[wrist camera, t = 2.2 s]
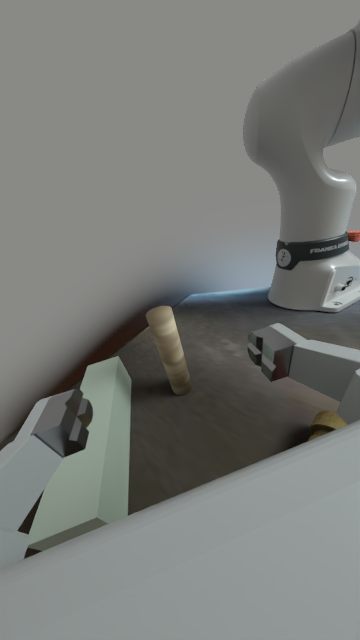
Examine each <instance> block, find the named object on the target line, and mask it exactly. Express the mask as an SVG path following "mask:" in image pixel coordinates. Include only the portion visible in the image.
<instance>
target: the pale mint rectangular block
mask: <svg viewBox="0 0 360 640" xmlns="http://www.w3.org/2000/svg"><path fill="white" fill-rule="evenodd" d="M80 390H81V391H82V392H83V393H84V394H83V398H85V399H88V400H89V401H90V403H91V405H92V407H93V418H92V422H91V423H90V424H89V426H88V427H87V429H88V431H89V435H88V439H87V444H86V448H85V450H82V451H79V452H77V453H74V454H72V455H69V456H67V457H64V458H63V461H62V462H61V464H60V465H59V467H58V468H57V470H56V472H55V473H54V475H53V476H52V478H51V479H50V481H49V482H48V484H47V485H46V487H45V490H44V492H43V495H42V498H41V501H40V504H39V507H38V509H37V512H36V515H35V518H34V521H33V524H32V527H31V529H30V532H29V537H30V541H29V544H28V547H27V548H32V549H36V550H40V551H44V550H47V549H49V548H52V547H54V546H56V545H59V544H61V543H64V542H66V541H69V540H71V539H73V538H76V537H78V536H81V535H83V534H85V533H88V532H90V531H93V530H95V529H97V528H100V527H102V526H105V525H107V524H110V523H112V522H114V521H117V520H119V519H122V518H124V517H126V516H128V484H129V447H130V409H131V379H130V377H129V375H128V373H127V371H126V369H125V367H124V366H123V364H122V362H121V360H120V358H119V356H117V357H114V358H111V359H108V360H105V361H101V362H98V363H95V364H92V365H89V366H88V367H87V370H86V373H85V376H84V378H83V381H82V384H81V387H80Z"/></svg>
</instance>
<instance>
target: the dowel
mask: <svg viewBox="0 0 360 640" xmlns="http://www.w3.org/2000/svg"><path fill="white" fill-rule="evenodd" d="M146 318H147V321H148V324H149V326H150V329H151V332H152V335H153V337H154V340H155V343H156V346H157V348H158V351H159V354H160V357H161V359H162V362H163V365H164V368H165V370H166V373H167V376H168V379H169V381H170V384H171V387H172V390H173V392H174V393H175V394H176V395H179V396H182V395H186V394H187V393H189V391H190V390H191V388H192V384H191V380H190V376H189V373H188V369H187V365H186V361H185V357H184V354H183V350H182V346H181V342H180V339H179V335H178V331H177V327H176V323H175V320H174V316H173V312H172V308H171V307H169V306H159V307H156V308H153V309H151V310H150V311H148V312H147V314H146Z"/></svg>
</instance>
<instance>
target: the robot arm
mask: <svg viewBox="0 0 360 640" xmlns="http://www.w3.org/2000/svg"><path fill="white" fill-rule="evenodd" d="M359 136H360V21H359V23H358V24H357V25H356V26H355V27H354V28H353V29H351V30H349V32H347V33H346V34H344V35H341V36H339V37H337V38H335V39H333V40H331V41H329V42H327V43H325V44H323V45H321V46H319V47H317V48H315V49H313V50H311V51H309V52H306V53H305V54H302V55H300V56H298V57H296V58H294V59H292V60H291V61H289V62H287V63H286V64H285V65H283V66H282V67H281V68H279V69H278V70H277V71H275V72H274V73H273V74H271V75H270V76H269V77H267V78H266V79H265V80H264V81H262V82H261V83H260V84H259V85H258V86H257V87H256V89H255V91H254V93H253V95H252V97H251V100H250V102H249V104H248V107H247V111H246V114H245V119H244V126H243V140H244V146H245V149H246V152H247V154H248V156H249V157H250V159H251V160H252V161H253V162H254V163H256V164H258V165H259V166H261V167H262V168H264V169H265V170H266V171H267V172H268V173H269V174H270V175H271V177H272V178H273V180H274V182H275V183H276V185H277V188H278V191H279V195H280V201H281V228H280V239H279V240H278V242H277V248H276V260H277V264H276V268H275V273H274V277H273V281H272V284H271V288H270V291H269V293H268V299H269V300H270V301H271V302H272V303H274V304H276V305H278V306H281V307H284V308H289V309H296V310H319V311H325V312H339V311H341V310H342V309H344V308H346V307H348V306H350V305H351V304H353V303H355V302H357V301H358V300H360V259H359V258H357V257H356V256H354V255H353V254H352V253H350V252H349V251H348V250H349V243H348V241H352V242H357V241H359V239H360V231H350V232H348V233H347V232H346V228H347V224H348V221H349V217H350V213H351V209H352V206H353V201H354V198H355V194H356V190H357V187H356V183H355V181H354V179H353V177H351V176H350V175H349V174H347V173H344V172H341V171H337V170H333V169H330V168H328V167H327V165H326V164H325V162H324V159H323V148H325V147H327V146H331V145H334V144H337V143H340V142H343V141H346V140H350V139H353V138H356V137H359ZM248 340H249V341H250V344H249V346H248V353H249V356H250V358H251V360H252V361H253V362H254V363H255V365H258V366H261V371H262V372H263V373H264V374H265V376H266V377H267V378H268V379H269V380H270V381H271V382H272V381H275V380H278V379H281V378H284V377H287V376H289V378H291V379H293V380H296V381H298V382H300V383H302V384H304V385H306V386H308V387H310V388H312V389H314V390H317V391H319V392H321V393H323V394H325V395H327V396H329V397H331V398H333V399H335V400H337V401H340V402H341V403H340V405H339V407H338V410H337V415H338V416H339V417H340V418H341V419H343V420H344V421H345V422H346V423H347V424H348V425H346V426H344V427H341V428H339V429H336V430H334V431H331V432H329V433H327V434H324V435H322V436H319V437H317V438H315V439H312V440H310V441H307V442H305V443H303V444H300V445H298V446H295V447H293V448H290V449H288V450H286V451H283V452H281V453H278V454H276V455H274V456H271V457H269V458H266V459H264V460H262V461H259V462H257V463H254V464H252V465H249V466H247V467H245V468H242V469H240V470H237V471H235V472H233V473H230V474H228V475H225V476H223V477H220V478H218V479H216V480H213V481H211V482H208V483H206V484H204V485H201V486H199V487H196V488H194V489H192V490H189V491H187V492H184V493H182V494H179V495H177V496H175V497H172V498H170V499H167V500H165V501H163V502H160V503H158V504H155V505H153V506H151V507H148V508H146V509H143V510H141V511H138V512H136V513H134V514H131V515H129V516H126V517H124V518H122V519H119V520H117V521H114V522H112V523H110V524H107V525H105V526H102V527H100V528H97V529H95V530H93V531H90V532H88V533H85V534H83V535H81V536H78V537H76V538H73V539H71V540H69V541H66V542H64V543H61V544H59V545H56V546H54V547H52V548H49V549H47V550H44V551H42V552H40V553H37V554H35V555H32V556H30V557H28V558H25V559H24V556H25V553H26V550H27V547H28V544H29V541H30V537H29V535H28V534H25V533H21V532H18V531H17V530H18V529H19V527H20V526H21V524H22V522H23V521H24V519H25V518H26V516H27V515H28V513H29V512H30V510H31V509H32V507H33V505H34V504H35V502H36V501H37V499H38V498H39V496H40V495H41V493H42V492H43V490H44V489H45V487H46V485H47V484H48V482H49V481H50V479H51V478H52V476H53V475H54V473H55V472H56V470H57V468H58V467H59V465H60V464H61V462H62V461H63V458H64V457H67V456H69V455H72V454H74V453H77V452H79V451H82V450H85V448H86V444H87V439H88V435H89V431H88V429H87V427H88V426H89V424H90V423H91V422H92V418H93V407H92V405H91V403H90V401H89V400H88V399H85V398H83V394H84V393H83V392H82V391H81V390H80V389H74V390H70V391H67V392H64V393H60V394H57V395H54V396H51V397H48V398H44V399H41V400H40V401H38V402H37V403H36V405H35V406H34V408H33V410H32V411H31V413H30V415H29V416H28V418H27V420H26V421H25V423H24V425H23V426H22V428H21V430H20V431H19V433H18V435H17V437H16V438H15V440H14V442H11V443H9V444H8V445H7V446H5V447H4V448H3V449H2V450H1V451H0V640H360V350H356V349H352V348H347V347H342V346H338V345H333V344H329V343H324V342H320V341H315V340H306V339H305V338H303V337H301V336H300V335H298V334H296V333H295V332H293V331H292V330H290V329H288V328H287V327H285V326H284V325H282V324H279V323H276V324H273V325H270V326H268V327H265V328H262V329H259V330H256V331H253V332H250V333H249V334H248Z"/></svg>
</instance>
